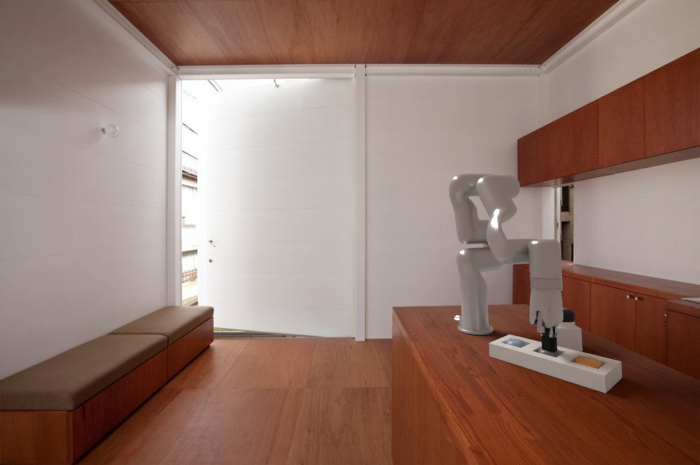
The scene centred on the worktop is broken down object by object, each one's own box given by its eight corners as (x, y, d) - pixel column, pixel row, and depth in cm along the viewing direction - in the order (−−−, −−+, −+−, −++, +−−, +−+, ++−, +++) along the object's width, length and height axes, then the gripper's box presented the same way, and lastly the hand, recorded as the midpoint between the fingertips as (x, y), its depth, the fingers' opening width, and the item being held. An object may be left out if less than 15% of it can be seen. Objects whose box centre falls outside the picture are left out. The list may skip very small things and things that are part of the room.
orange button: (573, 373, 78) (572, 359, 78) (580, 367, 80) (580, 354, 80) (597, 380, 74) (596, 366, 74) (604, 374, 76) (603, 360, 76)
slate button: (503, 352, 92) (503, 341, 92) (512, 348, 95) (511, 337, 95) (520, 357, 88) (520, 345, 88) (529, 353, 91) (528, 341, 91)
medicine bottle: (583, 351, 93) (581, 312, 93) (557, 351, 94) (555, 312, 94) (571, 343, 100) (569, 307, 100) (547, 343, 101) (545, 306, 101)
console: (489, 356, 92) (488, 343, 93) (510, 346, 99) (509, 334, 99) (605, 393, 69) (604, 375, 69) (622, 377, 76) (621, 361, 76)
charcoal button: (535, 362, 85) (534, 349, 85) (543, 357, 88) (543, 345, 88) (555, 368, 81) (554, 355, 81) (563, 363, 84) (562, 350, 84)
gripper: (543, 279, 92) (547, 340, 91) (518, 285, 83) (522, 353, 83) (572, 282, 86) (576, 347, 85) (548, 288, 77) (552, 361, 77)
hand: (549, 350), depth 84 cm, fingers closed
